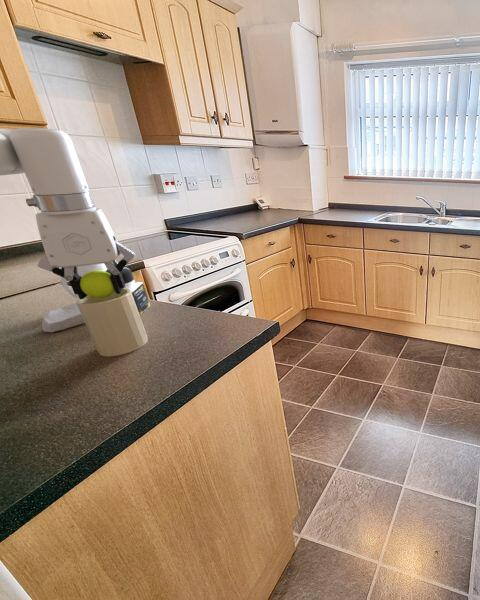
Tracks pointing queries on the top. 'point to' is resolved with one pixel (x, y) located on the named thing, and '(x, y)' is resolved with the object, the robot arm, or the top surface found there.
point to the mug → (81, 272)
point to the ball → (97, 284)
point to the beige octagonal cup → (113, 323)
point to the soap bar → (62, 318)
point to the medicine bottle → (135, 290)
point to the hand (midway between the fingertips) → (102, 293)
